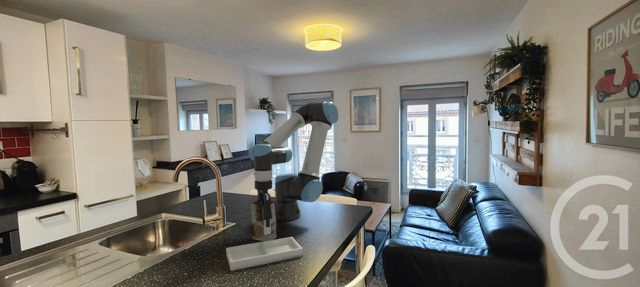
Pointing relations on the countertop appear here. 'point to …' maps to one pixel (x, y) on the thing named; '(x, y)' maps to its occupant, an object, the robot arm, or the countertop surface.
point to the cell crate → (263, 253)
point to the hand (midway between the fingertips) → (264, 229)
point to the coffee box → (262, 222)
